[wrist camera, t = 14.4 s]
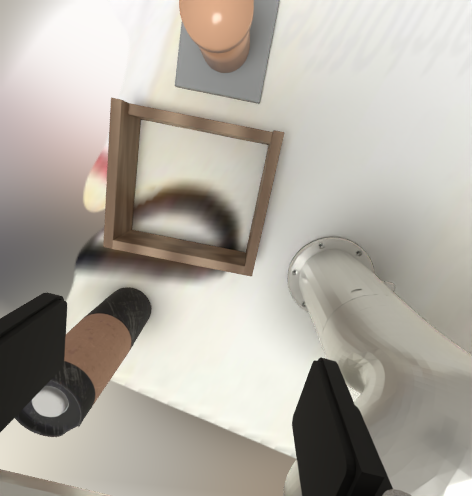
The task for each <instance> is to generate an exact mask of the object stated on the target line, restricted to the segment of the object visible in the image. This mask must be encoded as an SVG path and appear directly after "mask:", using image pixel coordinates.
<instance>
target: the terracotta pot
mask: <svg viewBox="0 0 472 496" xmlns="http://www.w3.org/2000/svg"><path fill="white" fill-rule="evenodd" d="M179 8H180V15H181V18H182V22H183V24H184V26H185V28H186V30H187V32H188V34H189V36H190V37H191V39H192V40H193V41H194V42H195V44H197V45H198V47H199V49H200V51H201V53H202V55H203V58H204V59H205V61H206V63H207V64H208V65H209V66H210V67H211V68H212V69H213V70H215V71H217V72H220V73H230V72H233V71H235V70H237V69H239V68H240V67H241V66H242V65H243V64H244V62H245V61H246V59H247V57H248V54H249V50H250V28H251V25H252V21H253V14H254V0H179Z"/></svg>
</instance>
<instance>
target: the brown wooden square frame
mask: <svg viewBox="0 0 472 496" xmlns="http://www.w3.org/2000/svg"><path fill="white" fill-rule="evenodd" d="M141 119H142V120H147V121H152V122H157V123H162V124H167V125H172V126H177V127H182V128H187V129H192V130H197V131H202V132H207V133H212V134H217V135H222V136H227V137H232V138H237V139H242V140H247V141H252V142H257V143H262V144H267V145H268V150H267V155H266V160H265V164H264V169H263V174H262V178H261V183H260V188H259V193H258V197H257V202H256V207H255V211H254V216H253V221H252V225H251V230H250V235H249V240H248V244H247V249H246V252H241V251H236V250H231V249H226V248H221V247H216V246H211V245H206V244H201V243H196V242H191V241H186V240H181V239H176V238H171V237H166V236H161V235H156V234H151V233H146V232H141V231H136V230H132V221H133V209H134V197H135V184H136V172H137V160H138V148H139V135H140V123H141ZM283 136H284V132H279V131H273V132H269V131H264V130H259V129H254V128H249V127H244V126H239V125H234V124H229V123H224V122H219V121H214V120H209V119H204V118H199V117H194V116H189V115H184V114H179V113H174V112H169V111H164V110H159V109H154V108H149V107H144V106H139V105H134V104H129V103H127V102H125V101H123V100H120V99H115V98H111V112H110V130H109V149H108V169H107V188H106V208H105V227H104V246H103V247H106V248H111V249H116V250H121V251H126V252H131V253H136V254H141V255H146V256H151V257H156V258H161V259H166V260H171V261H177V262H182V263H187V264H192V265H197V266H202V267H207V268H212V269H217V270H222V271H227V272H232V273H237V274H242V275H247V276H252V274H253V269H254V265H255V260H256V256H257V252H258V247H259V243H260V238H261V234H262V229H263V225H264V221H265V216H266V212H267V207H268V203H269V198H270V194H271V190H272V185H273V181H274V176H275V172H276V167H277V163H278V158H279V154H280V150H281V145H282V141H283Z"/></svg>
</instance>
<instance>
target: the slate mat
mask: <svg viewBox="0 0 472 496" xmlns="http://www.w3.org/2000/svg"><path fill="white" fill-rule="evenodd" d="M278 5H279V0H254V14H253V21H252V25H251V28H250V50H249V54H248V57H247V59H246V61H245V62H244V64H243V65H242V66H241V67H240V68H239V69H237V70H235V71H233V72H230V73H220V72H217V71H215V70H213V69H212V68H211V67H210V66H209V65H208V64H207V63H206V61H205V59H204V58H203V55H202V53H201V51H200V49H199V47H198V45H197V44H195V42H194V41H193V40H192V39H191V37H190V36H189V34H188V32H187V30H186V28H185V26H184V24H183V22H182V25H181V34H180V43H179V52H178V61H177V70H176V79H175V86H176V87H179V88H184V89H189V90H194V91H199V92H204V93H209V94H214V95H219V96H224V97H229V98H234V99H239V100H243V101H248V102H253V103H258V104H259V103H260V98H261V93H262V87H263V82H264V77H265V72H266V67H267V62H268V57H269V52H270V46H271V41H272V36H273V31H274V26H275V21H276V16H277V10H278Z"/></svg>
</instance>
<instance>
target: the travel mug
mask: <svg viewBox="0 0 472 496" xmlns="http://www.w3.org/2000/svg"><path fill="white" fill-rule="evenodd" d="M150 314H151V305H150V302H149V300H148V298H147V297H146V296H145V295H144V294H143V293H142V292H140V291H138V290H136V289H133V288H122V289H119V290H117V291H115V292H114V293H113V294H111V295H110V296H109V297H108V298H107V299H105V300H104V301H103V302H102V303H101V304H100V305H98V306H97V307H96V308H95V309H94V310H92V311H91V312H90V313H89V314H88V315H87V316H85V317H84V318H83V319H82V320H81V321H80V322H79V323H78V324H77V325H76V326H75V327H73V328H72V329H71V330H70V331H69V332H68V333H67V334H66V337H65V357H64V364H63V366H62V368H61V370H60V371H59V372H58V373H57V374H56V375H55V376H54V377H53V378H52V379H51V380H50V381H49V382H48V383H47V384H46V386H45V387H44V388H43V389H42V390H41V391H40V392H39V393H38V394H37V395H36V396H35V397H34V398H33V399H32V400H31V401H30V402H29V403H28V404H27V405H26V406H25V407H24V408H23V409H22V410H21V411H20V412H19V414H18V415H17V416H16V417H15V419H16V420H17V421H18V422H19V423H20V424H21V425H22V426H24V427H25V428H27V429H28V430H30V431H32V432H34V433H37V434H40V435H43V436H48V437H59V436H61V435H63V434H65V433H66V432H67V431H69V430H71V429H73V428H75V427H77V426H80V424H81V423H82V421H83V419H84V418H85V416H86V415H87V413H88V412H89V410H90V409H91V407H92V405H93V404H94V403H95V401H96V400H97V398H98V397H99V395H100V394H101V392H102V391H103V389H104V388H105V387H106V385H107V384H108V382H109V381H110V379H111V378H112V376H113V375H114V373H115V372H116V370H117V369H118V367H119V366H120V364H121V363H122V361H123V360H124V358H125V357H126V355H127V354H128V352H129V351H130V349H131V347H132V346H133V344H134V342H135V341H136V339H137V337H138V336H139V334H140V332H141V331H142V329H143V327H144V326H145V324H146V322H147V320H148V319H149V317H150Z"/></svg>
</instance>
